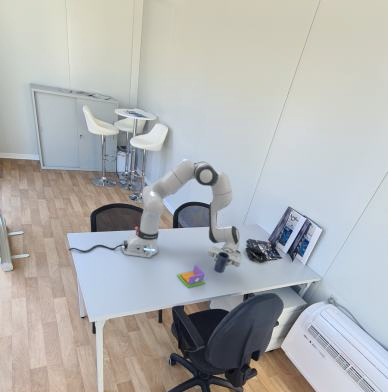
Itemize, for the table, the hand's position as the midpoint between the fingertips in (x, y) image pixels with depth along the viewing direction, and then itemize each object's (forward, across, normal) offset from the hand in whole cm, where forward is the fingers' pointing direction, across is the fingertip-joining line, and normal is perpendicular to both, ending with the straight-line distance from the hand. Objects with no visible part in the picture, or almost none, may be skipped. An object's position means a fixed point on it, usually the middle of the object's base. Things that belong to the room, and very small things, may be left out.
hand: (221, 262), depth 166 cm
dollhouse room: (+8, -13, +14) cm, 20 cm away
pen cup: (-1, 0, +6) cm, 6 cm away
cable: (-47, +16, +14) cm, 52 cm away
